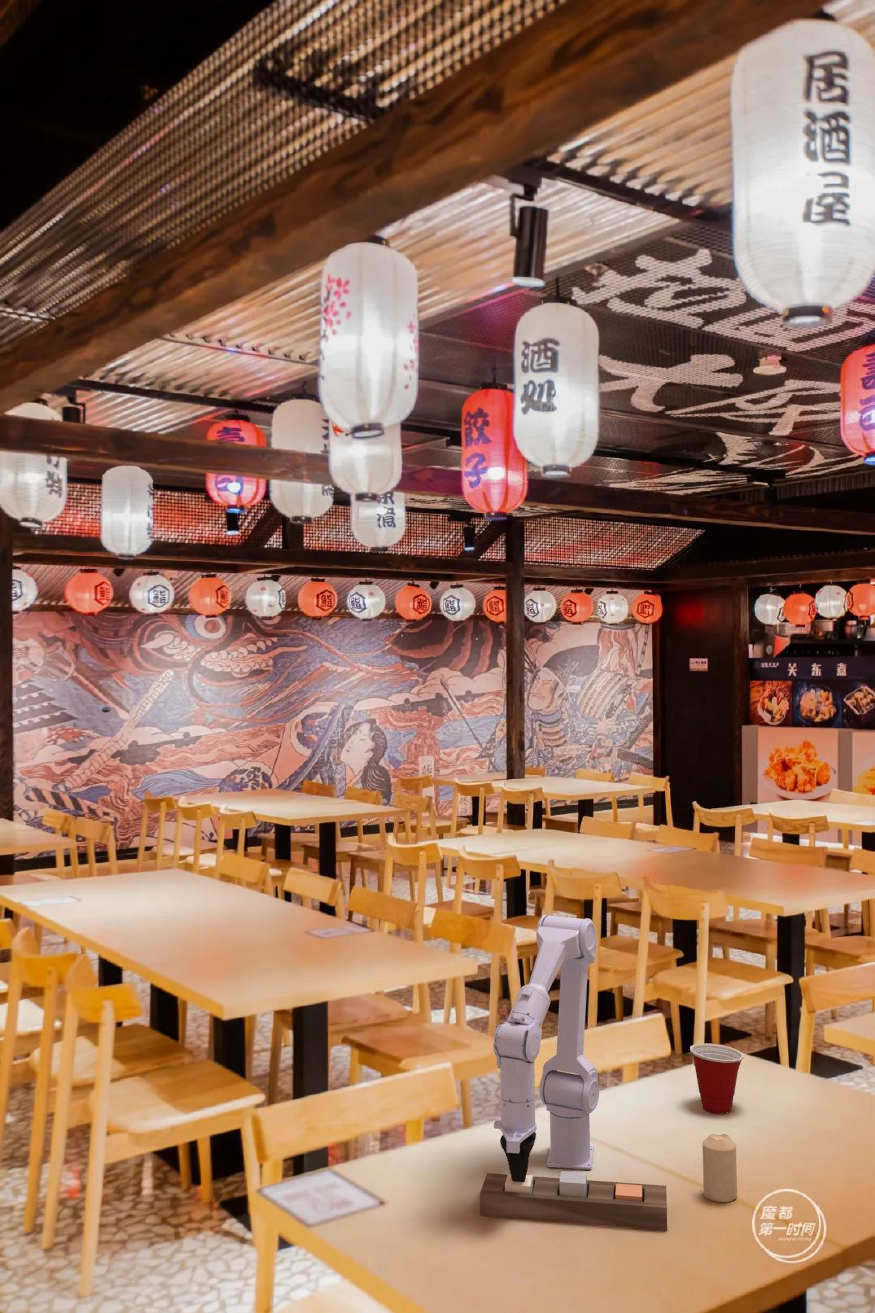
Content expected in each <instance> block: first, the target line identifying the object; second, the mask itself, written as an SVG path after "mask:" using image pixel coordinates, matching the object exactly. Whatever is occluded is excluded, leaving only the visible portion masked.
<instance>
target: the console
mask: <svg viewBox="0 0 875 1313" xmlns="http://www.w3.org/2000/svg"><path fill="white" fill-rule="evenodd" d="M508 1174H509V1173H508ZM508 1174H507V1173H493V1172H486V1175H485V1176H484V1180H483V1183H482V1186H481V1188H480V1189H481V1190H480V1193H479V1216H481V1217H482V1216H483V1217H493V1218H505V1219H518V1220H531V1221H542V1222H543V1221H545V1222H557V1223H570V1224H571V1223H572V1224H582V1225H583V1224H584V1225H593V1226H607V1227H619V1228H632V1229H644V1230H646V1229H647V1230H658V1231H668V1204H667V1203H668V1202H667V1201H668V1200H667V1185H662V1184H661V1185H660V1184H649V1183H647V1184H645V1183H633V1182H621V1181H620V1182H619V1181H604V1180H593V1179H592V1180H591V1179H590V1180H589V1179H587V1198H586V1197H572V1196H560V1185H559V1182H560V1177H550V1176H548V1177H547V1176H536V1175H535V1176H534V1175H533V1194H532V1193H519V1192H505V1182H506V1179H507V1176H508ZM616 1184H629V1185H642V1202H639V1201H626V1200H616V1198H615V1194H616Z"/></svg>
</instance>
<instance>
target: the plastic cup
mask: <svg viewBox="0 0 875 1313" xmlns="http://www.w3.org/2000/svg"><path fill="white" fill-rule="evenodd" d="M689 1048H690V1049H689V1050H690V1053H691V1056H692V1058H693V1063H694V1064H693V1065H694V1069H695V1074H696V1082H697V1086H698V1092H699V1096H700V1102H701V1106H702V1110H704V1111H705V1112H707V1113H709V1112H710V1113H711V1114H715V1115H723V1114H722V1113H726V1114H728V1113H727V1112H729V1113H730V1112H731V1111H732V1108H733V1104H734V1102H733V1101H734V1096H735V1092H736V1087H737V1086H736V1085H737V1079H738V1074H739V1070H740V1069H739V1068H740V1066H741V1062H742V1060H743V1059H744V1058H745V1056H744V1053H743V1052H741V1051H740V1050H739V1049H737V1048H733V1047H731V1046H727V1045H723V1044H714V1043H703V1042H702V1043H696V1044H693V1045H690V1047H689Z"/></svg>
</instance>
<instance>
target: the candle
mask: <svg viewBox="0 0 875 1313" xmlns="http://www.w3.org/2000/svg"><path fill="white" fill-rule="evenodd" d="M737 1168H738V1167H737V1144H736V1143H735V1142H734V1140H733V1139H732V1138H731V1136H729V1135H728V1134H727V1133H722V1134H716V1133H712V1134H709V1135H708V1136H707V1137H706V1138H705V1139H703V1141H702V1174H703V1176H702V1178H703V1179H702V1181H703V1195H704V1197H705V1198H706V1199H708V1200H711V1201H714V1202H717V1203H730V1202H731V1203H732V1202H733V1200H734V1199H735V1200H737V1198H738V1172H737ZM735 1200H734V1201H735Z"/></svg>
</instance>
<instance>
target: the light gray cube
mask: <svg viewBox="0 0 875 1313" xmlns="http://www.w3.org/2000/svg"><path fill="white" fill-rule="evenodd" d="M559 1178H560V1182H559V1185H560V1196H572V1197H586V1198H587V1180H588V1173H587V1172H579V1171H568V1170H567V1171H565V1170H561V1172H560V1177H559Z"/></svg>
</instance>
